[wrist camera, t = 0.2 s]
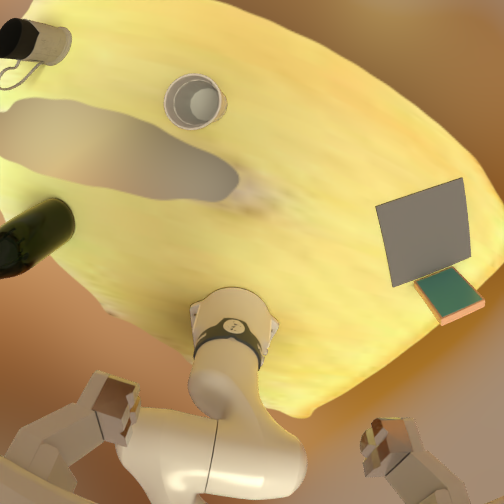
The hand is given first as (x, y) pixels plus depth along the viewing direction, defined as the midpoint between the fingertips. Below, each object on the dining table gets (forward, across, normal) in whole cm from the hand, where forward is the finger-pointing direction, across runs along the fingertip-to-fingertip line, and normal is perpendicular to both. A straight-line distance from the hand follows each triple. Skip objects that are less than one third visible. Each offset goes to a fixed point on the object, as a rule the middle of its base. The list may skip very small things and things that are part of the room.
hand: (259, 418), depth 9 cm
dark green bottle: (+49, -42, -18) cm, 67 cm away
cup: (+49, -12, +9) cm, 51 cm away
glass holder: (+49, -48, +17) cm, 71 cm away
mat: (+48, +34, -4) cm, 59 cm away
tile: (+48, +40, -13) cm, 64 cm away
